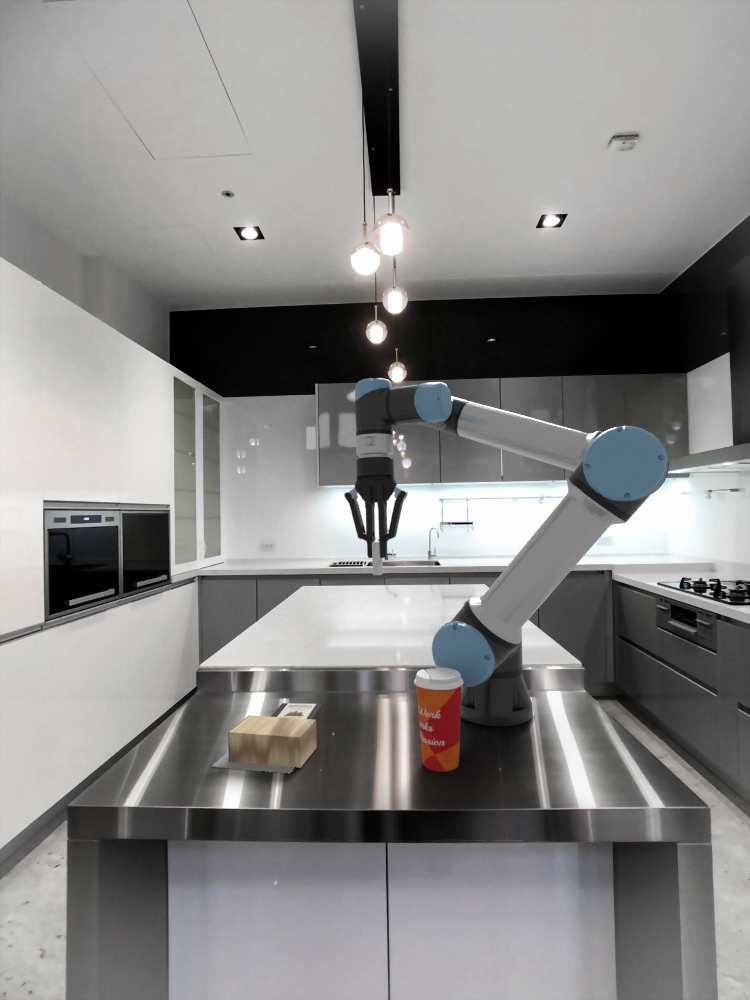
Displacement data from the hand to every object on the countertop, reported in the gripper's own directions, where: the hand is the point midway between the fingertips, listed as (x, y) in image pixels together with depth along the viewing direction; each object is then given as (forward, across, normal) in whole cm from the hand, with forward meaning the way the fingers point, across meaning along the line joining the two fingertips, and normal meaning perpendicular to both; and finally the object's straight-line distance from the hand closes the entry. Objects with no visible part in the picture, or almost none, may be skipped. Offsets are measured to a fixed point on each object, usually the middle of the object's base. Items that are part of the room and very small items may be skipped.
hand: (377, 574), depth 116 cm
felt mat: (+29, -16, -19) cm, 39 cm away
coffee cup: (+30, +14, -17) cm, 37 cm away
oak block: (+27, -8, -19) cm, 34 cm away
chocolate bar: (+30, -18, -3) cm, 35 cm away
